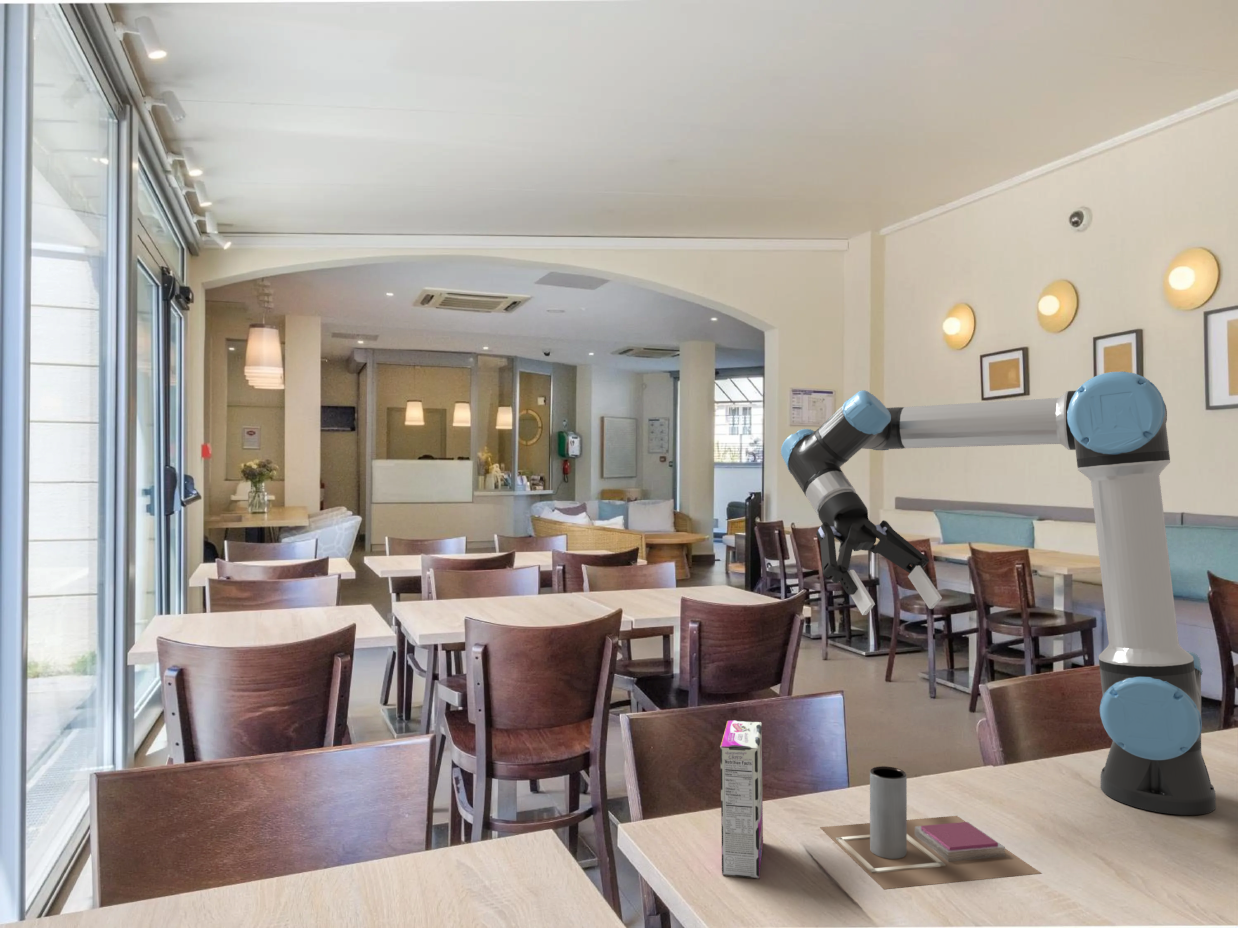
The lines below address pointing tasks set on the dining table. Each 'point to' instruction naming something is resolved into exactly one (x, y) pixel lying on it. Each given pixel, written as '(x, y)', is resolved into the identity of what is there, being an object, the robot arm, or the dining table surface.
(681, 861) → the dining table surface
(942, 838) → the ink pad
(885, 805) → the gray cylinder
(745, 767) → the candy bar box
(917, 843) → the walnut board
